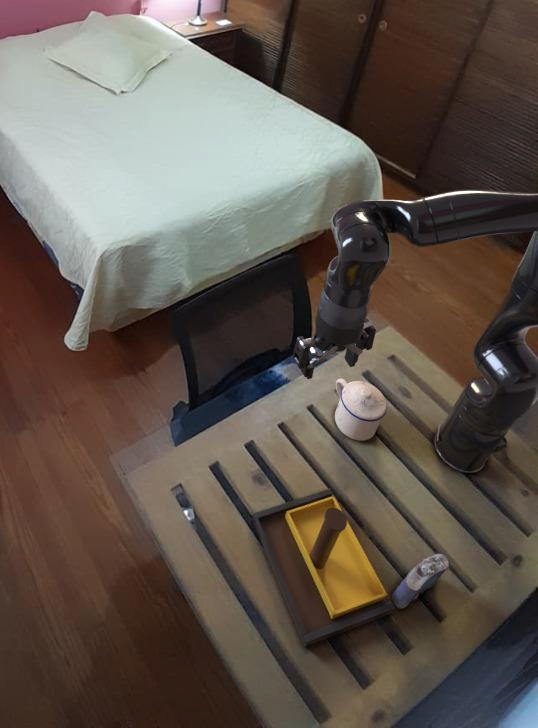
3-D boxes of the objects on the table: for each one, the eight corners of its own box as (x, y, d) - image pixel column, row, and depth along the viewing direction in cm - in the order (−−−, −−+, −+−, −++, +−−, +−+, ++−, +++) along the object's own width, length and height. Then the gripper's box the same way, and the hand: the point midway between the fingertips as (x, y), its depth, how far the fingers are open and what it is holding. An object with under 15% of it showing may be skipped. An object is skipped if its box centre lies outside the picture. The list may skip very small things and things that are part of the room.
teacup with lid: (386, 433, 117) (400, 403, 110) (352, 449, 114) (364, 419, 107) (349, 387, 126) (360, 356, 119) (316, 401, 123) (325, 370, 116)
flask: (399, 612, 92) (417, 590, 85) (386, 594, 94) (402, 571, 88) (437, 583, 95) (457, 559, 89) (423, 566, 97) (442, 541, 91)
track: (328, 493, 107) (330, 488, 106) (392, 613, 92) (395, 608, 90) (251, 519, 104) (252, 513, 103) (304, 646, 89) (306, 642, 87)
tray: (331, 501, 105) (350, 455, 94) (384, 599, 92) (413, 559, 82) (284, 516, 103) (298, 471, 92) (331, 619, 90) (354, 581, 80)
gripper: (314, 338, 85) (302, 397, 95) (394, 316, 87) (375, 375, 97) (291, 303, 91) (282, 362, 101) (367, 284, 93) (351, 342, 103)
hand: (328, 368), depth 99 cm, fingers open, 8 cm apart
